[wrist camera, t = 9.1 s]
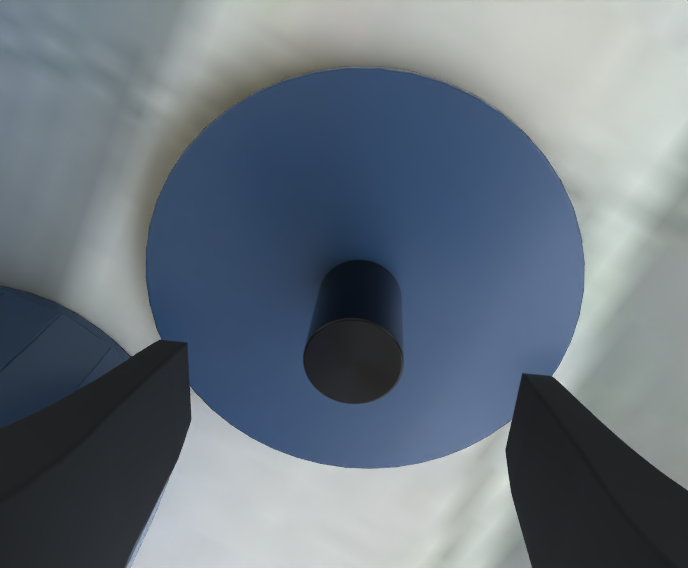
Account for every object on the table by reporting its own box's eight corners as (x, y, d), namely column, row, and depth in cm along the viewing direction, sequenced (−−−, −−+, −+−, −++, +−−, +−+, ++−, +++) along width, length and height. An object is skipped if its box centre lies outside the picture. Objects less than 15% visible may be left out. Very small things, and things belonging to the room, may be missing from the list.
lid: (530, 464, 21) (564, 579, 17) (169, 429, 22) (114, 533, 18) (622, 82, 16) (705, 111, 12) (143, 46, 17) (58, 62, 12)
